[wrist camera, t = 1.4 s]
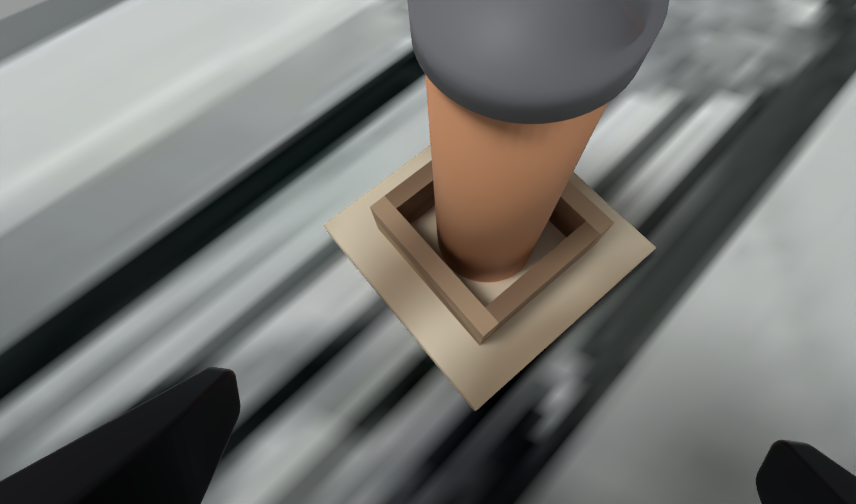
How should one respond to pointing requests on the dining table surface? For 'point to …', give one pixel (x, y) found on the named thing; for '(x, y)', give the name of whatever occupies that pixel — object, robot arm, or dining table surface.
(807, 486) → the robot arm
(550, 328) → the square wooden holder
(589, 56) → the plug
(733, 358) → the dining table surface
